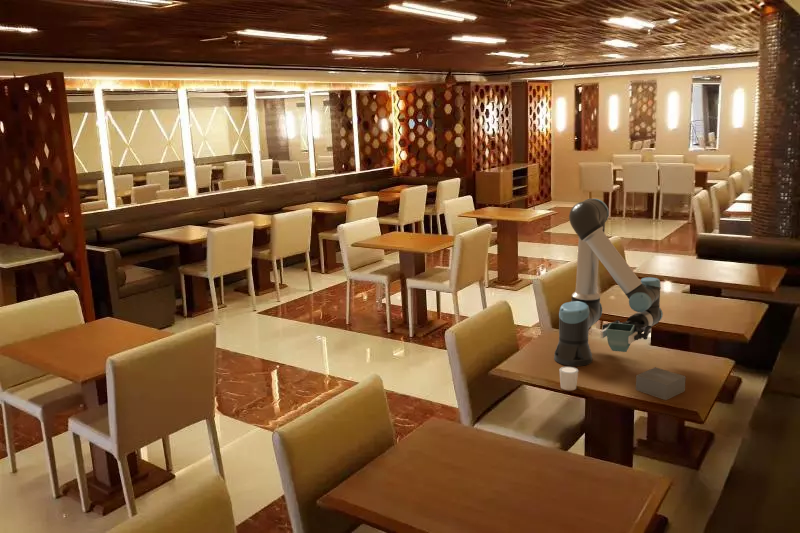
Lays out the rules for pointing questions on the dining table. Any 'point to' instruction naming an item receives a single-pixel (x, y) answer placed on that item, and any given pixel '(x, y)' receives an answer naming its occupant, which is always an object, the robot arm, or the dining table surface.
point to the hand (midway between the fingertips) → (615, 337)
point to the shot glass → (568, 378)
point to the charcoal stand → (660, 383)
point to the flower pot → (619, 336)
